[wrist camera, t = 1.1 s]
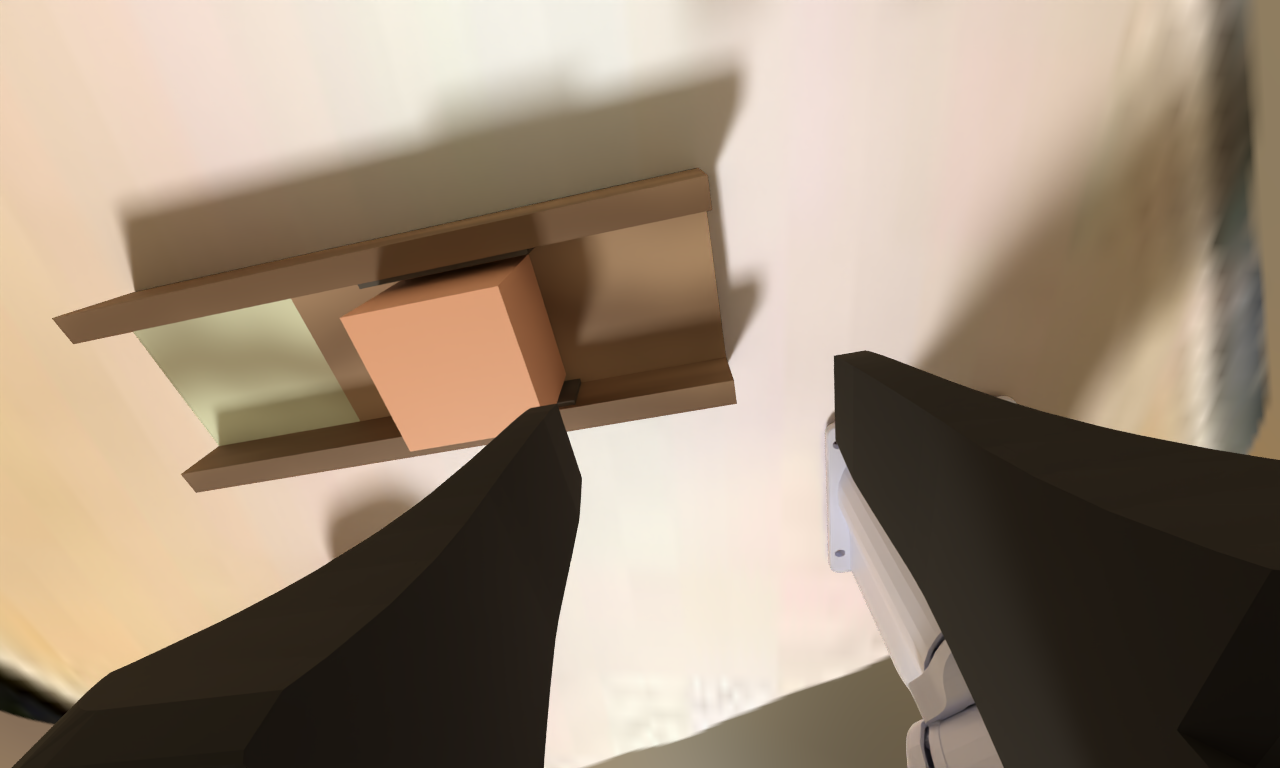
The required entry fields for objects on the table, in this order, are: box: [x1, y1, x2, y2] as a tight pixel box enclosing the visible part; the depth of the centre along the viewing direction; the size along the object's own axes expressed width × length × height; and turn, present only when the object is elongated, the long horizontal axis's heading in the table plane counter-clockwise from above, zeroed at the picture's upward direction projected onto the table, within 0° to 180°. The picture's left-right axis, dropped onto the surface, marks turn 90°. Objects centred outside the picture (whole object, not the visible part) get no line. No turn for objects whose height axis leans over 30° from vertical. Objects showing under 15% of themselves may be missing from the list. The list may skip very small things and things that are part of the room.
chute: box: [52, 168, 737, 493], centre depth 19 cm, size 8×23×3 cm, turn 102°
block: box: [340, 254, 566, 452], centre depth 17 cm, size 5×5×4 cm
